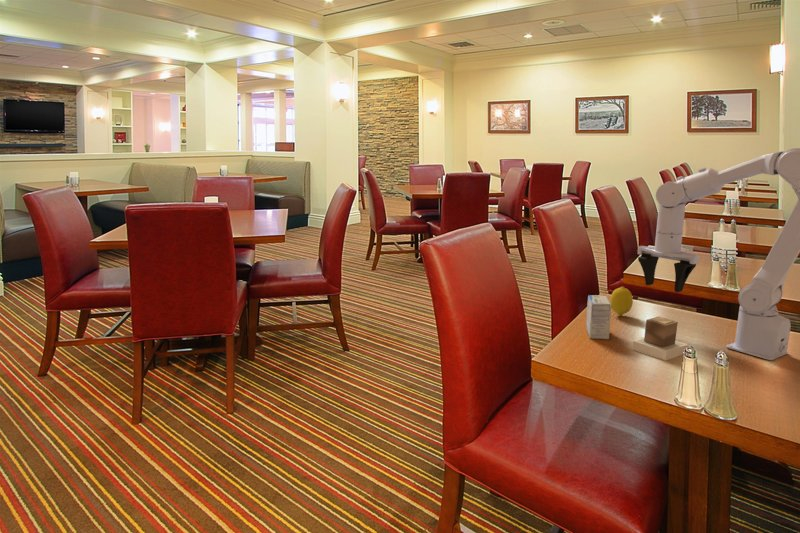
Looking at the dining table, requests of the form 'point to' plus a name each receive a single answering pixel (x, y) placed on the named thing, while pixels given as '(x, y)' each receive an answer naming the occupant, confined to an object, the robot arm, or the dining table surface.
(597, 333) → the medicine box
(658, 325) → the walnut block
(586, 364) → the dining table surface
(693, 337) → the dining table surface
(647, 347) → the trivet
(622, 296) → the lemon
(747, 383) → the dining table surface
